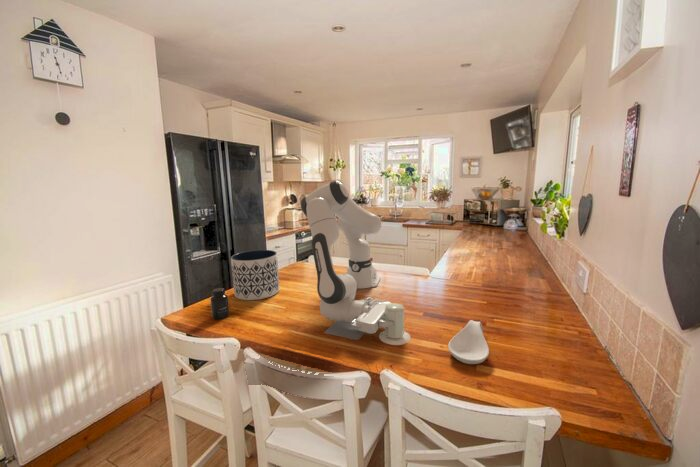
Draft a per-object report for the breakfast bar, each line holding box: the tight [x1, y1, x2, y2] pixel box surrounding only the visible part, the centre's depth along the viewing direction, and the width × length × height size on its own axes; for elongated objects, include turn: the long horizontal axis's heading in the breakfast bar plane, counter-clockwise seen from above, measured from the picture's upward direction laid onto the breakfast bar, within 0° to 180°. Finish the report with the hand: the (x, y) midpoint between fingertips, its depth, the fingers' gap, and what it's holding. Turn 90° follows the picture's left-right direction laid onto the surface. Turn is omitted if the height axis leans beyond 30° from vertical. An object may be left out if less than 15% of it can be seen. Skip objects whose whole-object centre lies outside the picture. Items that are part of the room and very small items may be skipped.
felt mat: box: [323, 321, 366, 341], centre depth 115 cm, size 14×14×1 cm
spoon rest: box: [447, 319, 490, 365], centre depth 99 cm, size 24×12×7 cm, turn 151°
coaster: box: [378, 330, 412, 346], centre depth 108 cm, size 11×11×1 cm
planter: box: [230, 249, 280, 301], centre depth 156 cm, size 22×22×20 cm
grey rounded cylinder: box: [384, 302, 405, 338], centre depth 107 cm, size 6×6×10 cm
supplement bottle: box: [209, 287, 230, 320], centre depth 129 cm, size 7×7×12 cm
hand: (397, 319), depth 106 cm, fingers closed on grey rounded cylinder, 6 cm apart
